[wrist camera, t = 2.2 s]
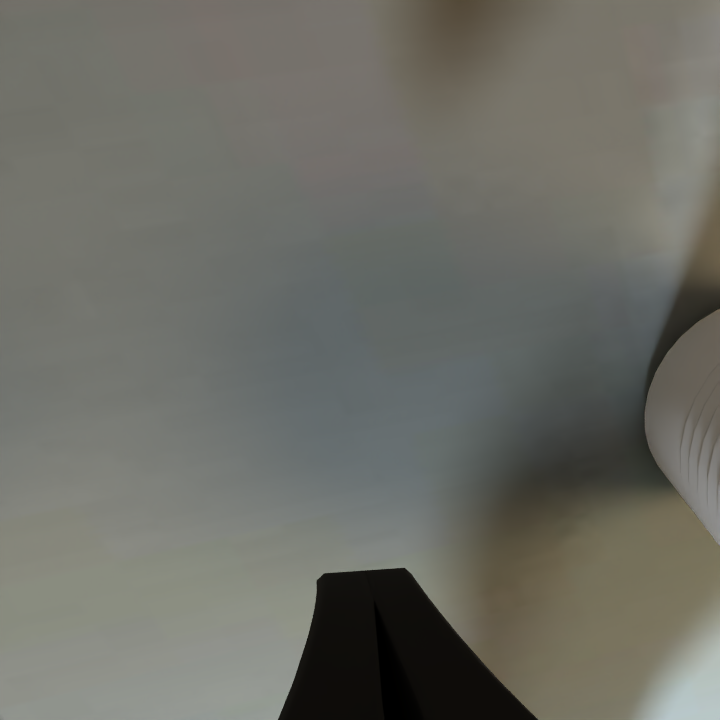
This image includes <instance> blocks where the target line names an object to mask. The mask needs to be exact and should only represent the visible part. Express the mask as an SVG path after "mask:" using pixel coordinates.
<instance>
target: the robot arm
mask: <svg viewBox="0 0 720 720" xmlns="http://www.w3.org/2000/svg"><path fill="white" fill-rule="evenodd" d="M278 720H538V719H537V718H536V717H535V716H534V715H533V714H532V713H531V712H530V711H529V710H528V709H527V708H526V707H525V706H524V705H523V704H522V703H521V702H520V701H519V700H518V699H517V698H516V697H515V696H514V695H513V694H512V693H511V692H510V691H509V690H508V689H507V688H506V687H505V686H504V685H503V684H502V683H501V682H500V681H499V680H498V679H497V678H496V677H495V676H494V674H493V673H492V672H491V671H490V670H489V669H488V668H487V667H486V666H485V665H484V663H483V662H482V661H481V660H480V659H479V658H478V657H477V656H476V654H475V653H474V652H473V651H472V650H471V649H470V648H469V647H468V645H467V644H466V643H465V642H464V641H463V640H462V639H461V637H460V636H459V635H458V634H457V633H456V631H455V630H454V629H453V628H452V627H451V625H450V624H449V623H448V622H447V620H446V619H445V618H444V617H443V615H442V614H441V613H440V612H439V610H438V609H437V608H436V607H435V605H434V604H433V603H432V601H431V600H430V599H429V598H428V596H427V595H426V594H425V592H424V591H423V590H422V588H421V587H420V585H419V584H418V583H417V581H416V580H415V578H414V577H413V576H412V574H411V573H410V572H409V571H407V570H406V569H405V568H396V569H381V570H367V571H353V572H338V573H324V574H323V575H322V576H321V577H320V578H319V579H318V580H317V595H316V603H315V609H314V614H313V619H312V623H311V627H310V631H309V635H308V638H307V641H306V645H305V648H304V651H303V654H302V657H301V660H300V663H299V666H298V670H297V673H296V676H295V678H294V681H293V684H292V687H291V689H290V692H289V694H288V697H287V699H286V701H285V704H284V706H283V709H282V711H281V714H280V716H279V719H278Z"/></svg>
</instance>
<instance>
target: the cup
mask: <svg viewBox="0 0 720 720" xmlns="http://www.w3.org/2000/svg"><path fill="white" fill-rule="evenodd" d="M645 433H646V437H647V441H648V445H649V449H650V451H651V453H652V455H653V457H654V459H655V461H656V463H657V465H658V466H659V468H660V469H661V470H662V472H663V473H664V474H665V476H666V477H667V478H668V480H669V481H670V482H671V484H672V485H673V486H674V488H675V489H676V490H677V491H678V493H679V494H680V495H681V497H682V498H683V499H684V501H685V502H686V503H687V504H688V506H689V507H690V508H691V509H692V510H693V511H694V513H695V515H696V516H697V517H698V518H699V519H700V521H701V522H702V523H703V525H704V527H705V528H706V529H707V530H708V531H709V532H710V534H711V535H712V537H713V539H714V540H715V541H716V542H717V543H718V544H719V546H720V309H718V310H716V311H715V312H713V313H711V314H710V315H708V316H706V317H705V318H703V319H701V320H700V321H698V322H697V323H696V324H695V325H693V326H692V327H691V328H690V329H689V330H688V331H686V332H685V333H684V334H683V335H682V336H681V337H680V338H679V339H678V340H677V342H676V343H675V344H674V345H673V346H672V348H671V349H670V350H669V351H668V352H667V354H666V355H665V357H664V359H663V360H662V362H661V364H660V366H659V367H658V369H657V371H656V372H655V375H654V378H653V380H652V383H651V386H650V388H649V391H648V395H647V401H646V407H645Z"/></svg>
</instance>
